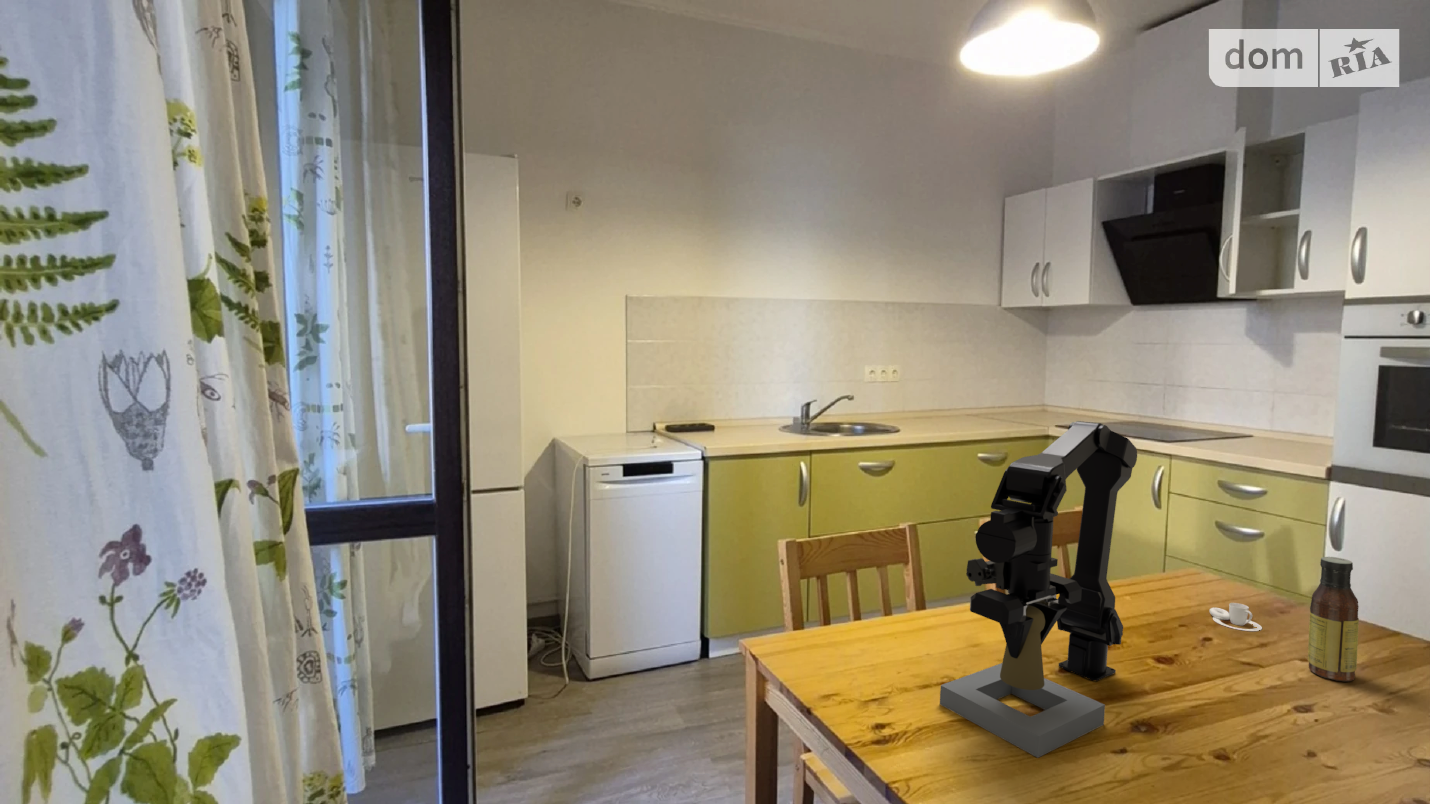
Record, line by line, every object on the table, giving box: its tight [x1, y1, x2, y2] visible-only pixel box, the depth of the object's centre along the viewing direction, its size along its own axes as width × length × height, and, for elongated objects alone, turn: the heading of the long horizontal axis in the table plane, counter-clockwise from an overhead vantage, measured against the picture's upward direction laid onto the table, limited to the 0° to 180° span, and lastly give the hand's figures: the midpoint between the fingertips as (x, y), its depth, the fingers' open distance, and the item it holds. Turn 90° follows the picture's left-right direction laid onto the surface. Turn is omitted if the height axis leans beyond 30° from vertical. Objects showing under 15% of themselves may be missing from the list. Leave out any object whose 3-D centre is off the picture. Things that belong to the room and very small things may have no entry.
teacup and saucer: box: [1208, 602, 1263, 632], centre depth 141 cm, size 9×8×4 cm
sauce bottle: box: [1307, 556, 1360, 683], centre depth 118 cm, size 7×6×20 cm
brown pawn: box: [1000, 605, 1045, 690], centre depth 103 cm, size 6×6×11 cm
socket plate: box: [939, 662, 1106, 759], centre depth 104 cm, size 16×16×3 cm
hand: (1023, 653), depth 103 cm, fingers closed on brown pawn, 4 cm apart
